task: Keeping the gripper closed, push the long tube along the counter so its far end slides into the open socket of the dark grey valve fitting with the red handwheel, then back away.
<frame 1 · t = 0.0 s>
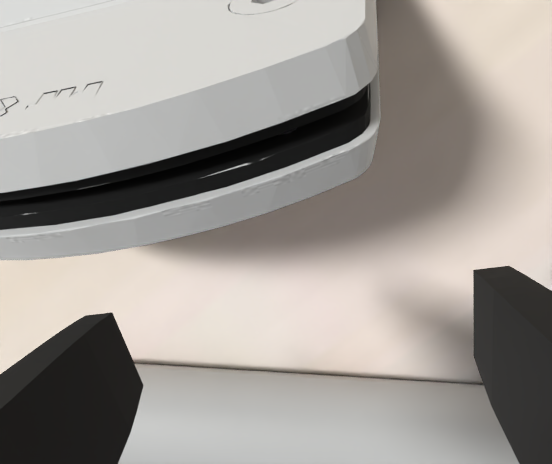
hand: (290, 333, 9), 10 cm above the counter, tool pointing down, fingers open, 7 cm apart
tube: (313, 385, 24), on the counter
white rounded casing: (152, 62, 17), on the counter
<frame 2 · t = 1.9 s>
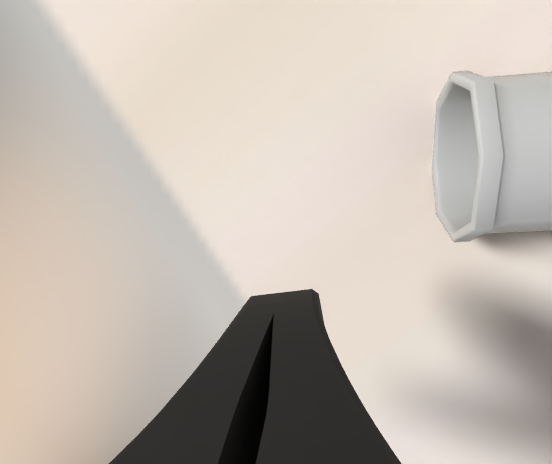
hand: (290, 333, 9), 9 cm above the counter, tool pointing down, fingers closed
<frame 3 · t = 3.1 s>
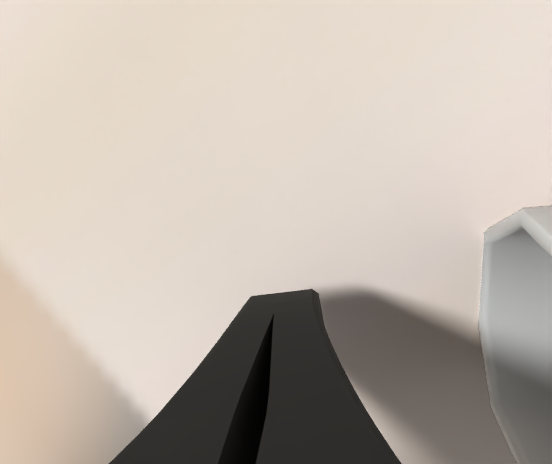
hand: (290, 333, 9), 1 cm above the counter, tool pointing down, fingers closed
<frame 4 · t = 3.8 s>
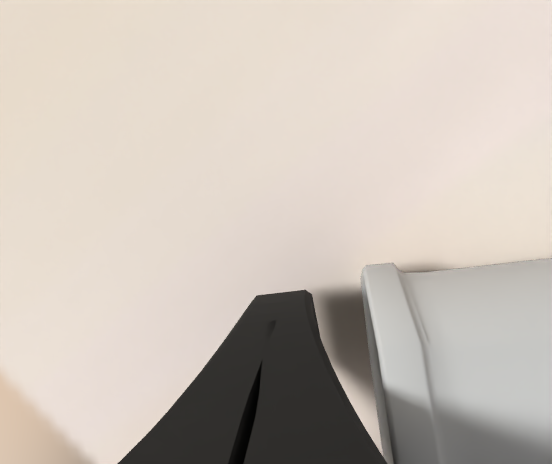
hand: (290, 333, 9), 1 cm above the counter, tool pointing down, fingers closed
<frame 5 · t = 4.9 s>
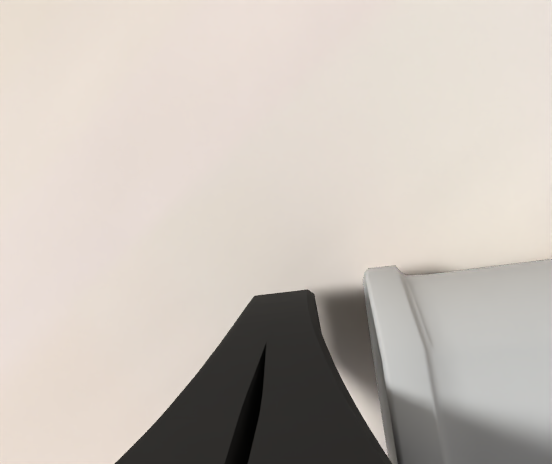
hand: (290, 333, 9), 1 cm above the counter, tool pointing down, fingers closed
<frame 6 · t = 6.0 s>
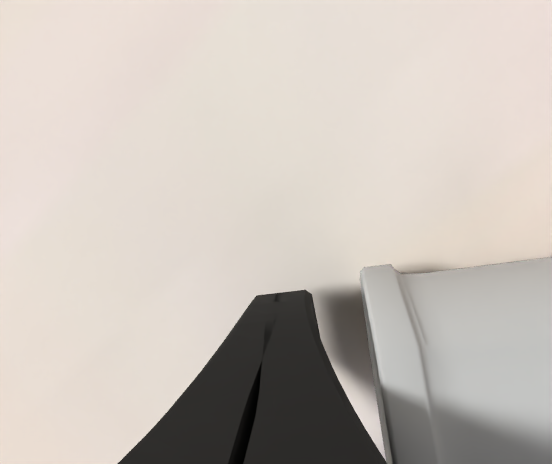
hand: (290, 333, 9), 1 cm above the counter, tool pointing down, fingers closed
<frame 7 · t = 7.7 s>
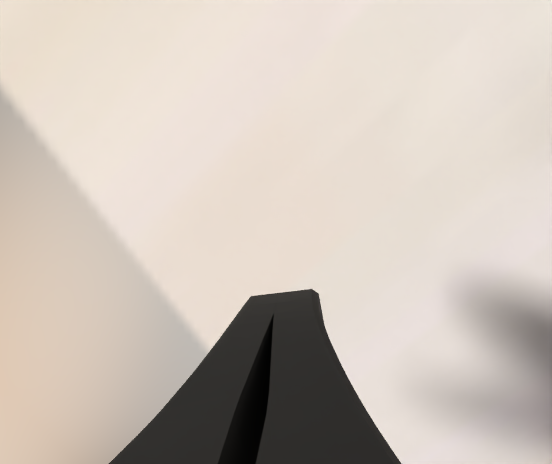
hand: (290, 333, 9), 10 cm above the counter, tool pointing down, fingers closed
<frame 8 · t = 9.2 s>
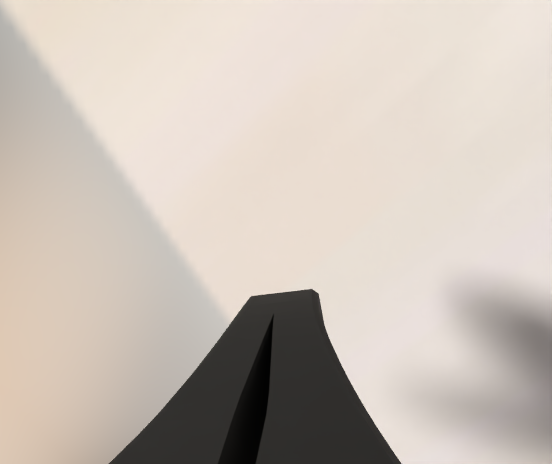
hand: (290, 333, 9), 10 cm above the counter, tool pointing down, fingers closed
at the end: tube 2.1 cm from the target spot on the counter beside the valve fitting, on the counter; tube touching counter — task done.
